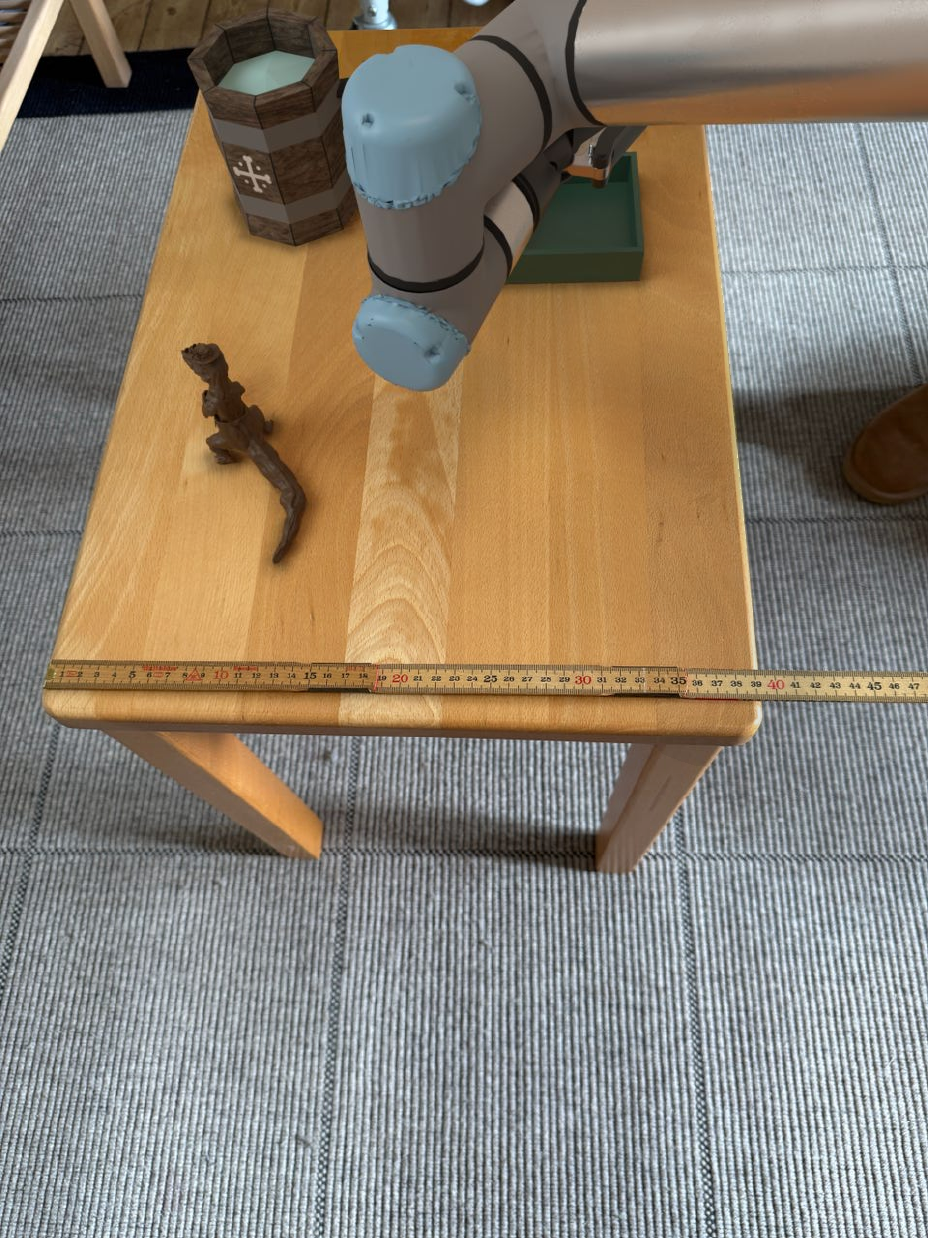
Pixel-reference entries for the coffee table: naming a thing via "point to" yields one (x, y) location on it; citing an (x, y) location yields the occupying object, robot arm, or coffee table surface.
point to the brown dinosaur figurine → (244, 433)
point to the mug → (278, 122)
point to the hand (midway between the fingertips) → (601, 17)
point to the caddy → (588, 232)
